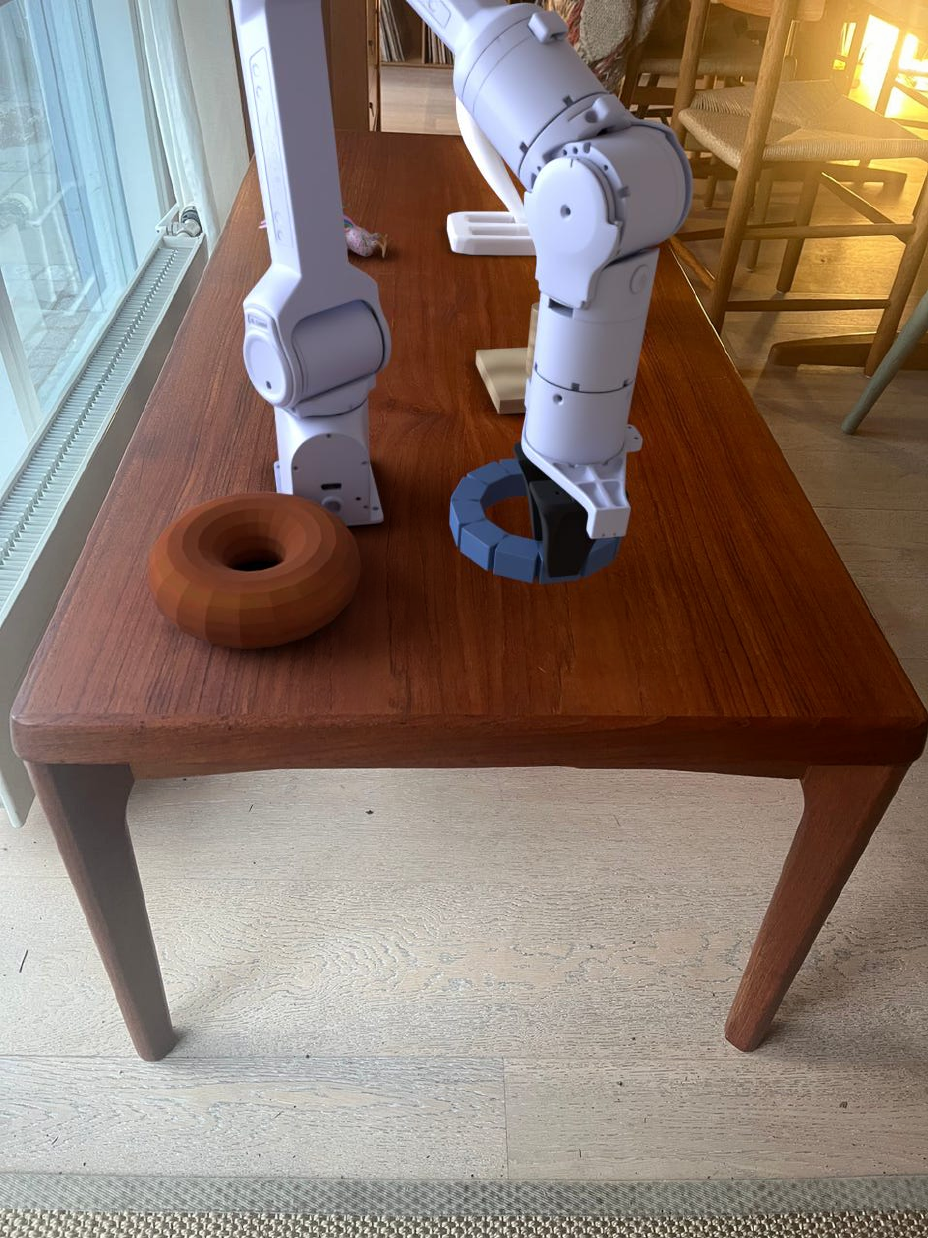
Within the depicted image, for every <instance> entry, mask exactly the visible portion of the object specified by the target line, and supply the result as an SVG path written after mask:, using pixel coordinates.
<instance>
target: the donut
mask: <svg viewBox="0 0 928 1238" xmlns="http://www.w3.org/2000/svg"><path fill="white" fill-rule="evenodd" d="M252 562H269V563H270V562H271V563H275V564H276V565H275V566H272V567H269V568H266V569H262V570H251V571H246V570H238V569H234V568H236V567H238V566H240V565H241V566H242V565H245V564H248V563H252ZM361 572H362V564H361V557H360V551H359V546H358V544H357V540H356V537H355V536H354V535H353V533H352V531H350V529H349V528H348V526H346V525H345V524H344V522H343V521H342V520H341V519H339V518H338V517H337V516H336V515H335V514H333V513H332V512H330V511H329V510H327V509H326V508H324V507H323V506H321V505H320V504H318V503H317V502H314V501H311V500H308V499H305V498H302V497H299V496H296V495H292V494H284V493H277V491H276V492H275V491H267V490H263V491H248V492H247V491H246V492H235V493H231V494H228V495H223V496H219V497H215V498H211V499H208V500H206V501H204V502H202V503H200V504H197V505H195V506H193V507H191V508H189V509H187V510H185V511H183V512H182V513H181V514H180V515H179V516H177V517H176V518H174V520H172V521H170V523H169V524H168V525H166V527H164V529H163V530H162V532H161V533H160V535H159V536H158V538H157V540H156V541H155V543H154V545H153V546H152V548H151V550H150V551H149V555H148V565H147V575H146V576H147V578H146V585H147V588H148V591H149V592H150V594H151V597H152V599H153V601H154V603H155V606H156V608H157V609H158V611H159V613H160V615H161V616H162V617H164V618H165V619H166V620H167V621H168V622H169V623H171V624H172V625H173V626H174V627H175V628H176V629H178V630H179V631H180V632H182V633H184V634H186V635H187V636H189V637H193V638H195V639H198V640H200V641H203V642H205V643H208V644H210V645H213V646H216V647H217V646H218V647H225V648H233V649H240V650H251V649H252V650H253V649H263V648H274V647H276V648H277V647H279V646H282V645H286V644H288V643H289V644H290V643H292V642H295V641H299V640H301V639H305V638H307V637H309V636H310V635H313V633H316V632H317V631H318V630H320V629H322V628H325V626H327V625H329V624H330V623H331V622H332V621H334V620H335V619H336V618H337V616H338V615H339V614H341V612H342V611H343V610H344V609H345V608H346V607H347V605H348V604H349V603H350V602H351V601H352V600H353V597H354V595H355V591H356V589H357V586H358V582H359V580H360V576H361Z"/></svg>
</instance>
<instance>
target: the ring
mask: <svg viewBox="0 0 928 1238" xmlns="http://www.w3.org/2000/svg"><path fill="white" fill-rule="evenodd" d="M519 497H528V495H527V490H526V485H525V481H524V477H523V474H522V471H521V468H520V465H519V463H518V461H517V459H516V457H515V458H504V459H503V458H502V459H499V463H498V462H497V461H495V460H493V461H491V462H489V463H487V464H484V465H483V466H481V467H478V468H476V469H474V470H472V471H470V472H468V473H466V476H463V477H462V478H461V480H460V481H459V483H458V484H457V486H456V488H455V489H454V491H453V493H452V495H451V496H450V503H449V504H450V506H449V527H450V530H451V533H452V537H453V539H454V542H455V545H456V548H460V550H459V551H460V553H461V554H463V555H464V556H466V557H467V558H468V559H470V560H471V561H473V562H474V563H475V564H477V565H478V566H479V567H481V569H484V570H485V571H486V572H489V571H490V570H492V569H493V571H492V572H493V573H492V574H493V575H495V576H500V577H503V578H504V577H505V578H508V579H512V580H516V581H521V582H524V583H529V584H534V582H535V579H536V580H537V582H538V584H539V585H548V584H555V583H556V584H557V583H566V582H567V583H569V582H576V581H577V582H578V581H580V577H582V578H583V579H586V578H588V577H590V576H592V575H594V574H595V573H597V572H598V571H600V570H602V569H604V568H605V567H607V566H609V565H611V564H612V563H613V560H616V558H617V555H618V552H619V549H620V546H621V543H622V540H623V537H624V536H619V537H611V538H598V539H597V540H596V542H595V544H594V545H593V547H592V549H591V551H590V553H589V555H588V557H587V559H586V561H585V563H584V565H583V567H582V569H581V570H580V572H579V574H578V575H574V576H564V577H554V578H550V577H548V575H547V573H546V570H545V566H544V560H543V541H535V540H533V538H532V539H531V538H527V537H523V536H519V535H514V534H510V533H508V532H506V531H505V530H504V529H502V528H500V527H499V526H497V525H496V524H495V523H494V522H492V521H490V520H489V519H488V518H487V516H486V513H485V512H486V511H487V509H488V508H489V507H491V506H494V505H496V504H498V503H500V502H502V501H504V500H506V499H509V498H519Z"/></svg>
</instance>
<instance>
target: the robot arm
mask: <svg viewBox="0 0 928 1238" xmlns="http://www.w3.org/2000/svg"><path fill="white" fill-rule="evenodd" d="M405 1H406V2H407V3H408V4H409V6H411V8H412V9H413V10H414V11H415V12H416V13H417V15H418V16H419V17H420V18H421V19H422V20H423V21H424V22H425V23H426V25H427V26H428V27H429V28H430V29H431V30H432V32H434V34H435V35H436V36H437V37H438V38H439V39H440V41H441V42H442V43H443V44H444V45H445V46H446V47H447V48H448V49H449V50H450V52H451V53H452V54H453V56H454V64H453V65H454V66H453V79H452V81H453V82H452V83H453V91H454V94H455V96H457V98H458V99H459V101H460V102H461V103H462V105H463V106H464V107H465V109H466V110H467V111H468V112H469V114H470V115H471V116H472V118H473V119H474V120H475V122H476V123H477V125H478V126H479V127H480V128H481V130H482V131H483V132H484V134H485V135H486V136H487V138H488V139H489V140H490V142H491V143H492V144H493V146H494V147H495V148H496V150H497V151H498V152H499V154H500V156H501V158H502V160H503V161H504V162H505V163H506V164H507V165H508V167H509V168H510V170H511V171H512V172H513V174H514V175H515V176H516V178H517V179H518V180H519V182H520V183H521V184H522V186H523V187H524V188H525V190H526V191H524V194H523V205H524V210H525V217H526V222H527V226H528V230H529V233H530V235H531V238H532V240H533V242H534V245H535V249H536V254H537V255H536V267H535V277H534V278H535V280H536V281H537V282H538V289H539V291H540V295H539V302H540V305H539V314H538V324H537V333H536V343H535V352H534V361H533V370H532V378H527V384H526V393H525V403H524V404H525V406H526V408H527V411H526V413H525V416H524V420H523V421H524V422H523V427H522V433H521V441H518V442H516V443H515V444H514V445H512V446H513V447H512V453H513V454H514V457H515V458H516V459H517V461H518V463H519V465H520V468H521V471H522V474H523V477H524V481H525V485H526V490H527V495H528V496H527V500H528V507H529V516H530V526H531V533H532V540H535V541H543V560H544V566H545V570H546V573H547V575H548V577H550V578H554V577H564V576H574V575H578V574H579V572H580V570H581V569H582V567H583V565H584V563H585V561H586V559H587V557H588V555H589V553H590V551H591V549H592V547H593V545H594V544H595V542H596V540H597V539H598V538H611V537H619V536H623V537H625V536H626V534H627V530H628V525H629V520H630V515H631V511H632V507H631V505H630V502H629V498H630V495H629V492H628V490H627V488H626V479H627V478H626V476H627V454H629V453H635V452H639V451H640V450H641V449H642V445H643V441H644V439H643V437H642V435H641V434H640V432H639V430H638V429H637V427H636V426H634V425H632V424H628V421H629V416H630V410H631V405H632V399H633V394H634V388H635V384H636V378H637V373H638V368H639V362H640V357H641V351H642V346H643V341H644V335H645V330H646V325H647V319H648V313H649V308H650V303H651V297H652V293H653V287H654V286H653V285H654V281H655V276H656V271H657V265H658V262H659V261H658V260H659V254H660V250H661V249H660V248H659V247H656V248H653V247H655V246H657V245H660V244H662V243H663V242H664V241H666V240H668V239H670V238H671V237H673V236H674V235H675V234H677V232H678V231H679V230H680V229H681V227H682V226H683V224H684V223H685V221H686V219H687V217H688V215H689V213H690V210H691V206H692V202H693V195H694V177H693V172H692V171H693V170H692V167H691V164H690V161H689V157H688V155H687V153H686V152H685V149H684V148H683V146H682V145H681V144H680V141H679V139H678V136H677V134H676V132H675V131H674V130H673V129H672V128H671V127H670V126H669V125H667V124H666V123H662V122H660V121H657V120H654V119H640V118H638V117H636V116H634V114H632V112H631V111H630V110H629V109H626V107H625V106H624V104H623V103H622V102H621V100H620V99H619V98H618V97H617V95H616V94H614V93H612V94H610V93H609V91H608V90H607V89H606V88H605V86H604V85H603V84H602V82H601V81H600V80H599V79H598V78H597V76H596V74H594V72H593V71H592V69H591V68H590V67H589V66H588V64H587V63H586V62H585V61H584V59H583V58H582V57H581V56H580V54H579V53H578V51H577V50H576V49H575V48H574V46H573V45H572V44H571V43H570V41H569V40H568V39H567V35H568V33H569V30H570V28H569V26H568V24H567V23H566V22H565V21H564V19H563V17H562V16H561V15H560V14H559V13H558V11H557V10H554V9H553V10H545V9H544V8H543V7H542V6H540V5H538V4H537V3H532V2H519V3H512V4H508V2H507V0H405ZM231 4H232V11H233V19H234V24H235V25H234V26H235V31H236V37H237V42H238V50H239V56H240V63H241V69H242V76H243V83H244V88H245V95H246V102H247V110H248V115H249V123H250V128H251V135H252V141H253V147H254V148H253V149H254V153H255V160H256V167H257V173H258V179H259V180H258V181H259V184H260V185H259V187H260V192H261V199H262V206H263V213H264V220H265V219H266V226H267V228H266V231H267V238H268V245H269V251H270V258H271V264H270V266H269V268H268V269H267V271H266V272H265V273H264V274H263V275H262V277H261V278H260V279H259V281H258V282H257V283H256V285H255V286H254V287H253V288H252V290H251V291H250V292H249V293H248V295H247V296H246V298H245V299H244V300H243V303H242V307H243V313H244V323H245V332H244V333H245V334H244V340H243V348H242V351H243V352H242V353H243V361H244V365H245V369H246V371H247V374H248V376H249V379H250V381H251V383H252V385H253V386H254V388H255V390H256V391H257V392H258V393H259V395H260V396H261V397H262V398H263V399H264V400H266V401H267V402H268V403H269V404H270V405H271V406H273V409H274V420H275V431H276V442H277V453H278V460H276V461H275V462H274V463H273V469H274V477H275V478H274V479H275V487H276V493H284V494H292V495H296V496H299V497H302V498H305V499H308V500H311V501H314V502H317V503H318V504H320V505H321V506H323V507H324V508H326V509H327V510H329V511H330V512H332V513H333V514H335V515H336V516H337V517H338V518H339V519H341V520H342V521H343V522H344V524H345V525H346V527H351V526H364V525H374V524H380V523H383V522H384V512H383V508H382V505H381V501H380V496H379V493H378V489H377V484H376V480H375V477H374V473H373V469H372V464H371V460H370V412H369V411H370V410H369V409H370V408H369V406H370V405H369V404H370V403H369V393H370V392H371V391H372V390H374V389H376V388H377V374H379V373H381V372H383V371H384V370H385V369H386V368H387V366H388V364H389V362H390V359H391V353H392V337H391V336H392V335H391V331H390V327H389V324H388V321H387V319H386V317H385V315H384V312H383V309H382V305H381V302H380V296H379V285H378V282H377V281H376V280H375V279H373V277H372V276H370V275H369V274H368V273H366V272H365V271H363V270H362V269H360V268H358V267H357V266H355V265H353V264H352V263H350V262H349V256H348V255H349V254H348V250H347V244H346V235H345V229H346V227H345V226H346V225H344V217H343V215H344V210H343V209H344V208H343V207H342V206H343V199H342V191H341V190H342V189H341V182H340V172H339V161H338V154H337V144H336V135H335V134H336V133H335V125H334V117H333V107H332V98H331V89H330V80H329V71H328V61H327V51H326V41H325V34H324V25H323V24H324V23H323V15H322V14H323V13H322V0H231ZM650 248H653V249H650Z"/></svg>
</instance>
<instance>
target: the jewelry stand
mask: <svg viewBox="0 0 928 1238" xmlns="http://www.w3.org/2000/svg"><path fill="white" fill-rule="evenodd" d="M455 96H456V95H455ZM455 108H456V109H455V110H456V118H457V123H458V126H459V130H460V133H461V137H462V139H463V142H464V144H465V145H466V148H467V150H468V151H469V153H470V155H471V157H472V159H473V161H474V163H475V165H476V166H477V168H478V170H479V172H480V173H481V175H482V177H483V178H484V179H485V181H486V183H487V184H488V185H489V187H490V188H491V189H492V190H493V192H494V193H495V194H496V196H497V197H498V198H499V199H500V200H501V201H502V203H503V204H504V206H505V207H506V208H507V210H508V211H458V212H452V213H449V214H448V215H447V221H446V232H447V236H448V240H449V244H450V249H451V251H452V252H454V253H456V254H464V255H470V256H471V255H472V256H537V254H536V249H535V245H534V242H533V240H532V238H531V235H530V233H529V230H528V226H527V222H526V217H525V210H524V202H523V200H522V199H521V196H520V194H519V193H518V190H517V189H516V186H515V184H514V183H513V181H512V178H511V177H510V175H509V172H508V170H507V168H506V165H505V163H504V160H503V158H502V156H501V155H500V154H499V152H498V151H497V150H496V148H495V147H494V146H493V144H492V143H491V142H490V140H489V139H488V138H487V136H486V135H485V134H484V132H483V131H482V130H481V128H480V127H479V126H478V125H477V123H476V122H475V120H474V119H473V118H472V116H471V115H470V114H469V112H468V111H467V110H466V109H465V107H464V106H463V105H462V103H461V102H460V101H459V99H458V98H457V96H456V99H455Z"/></svg>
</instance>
